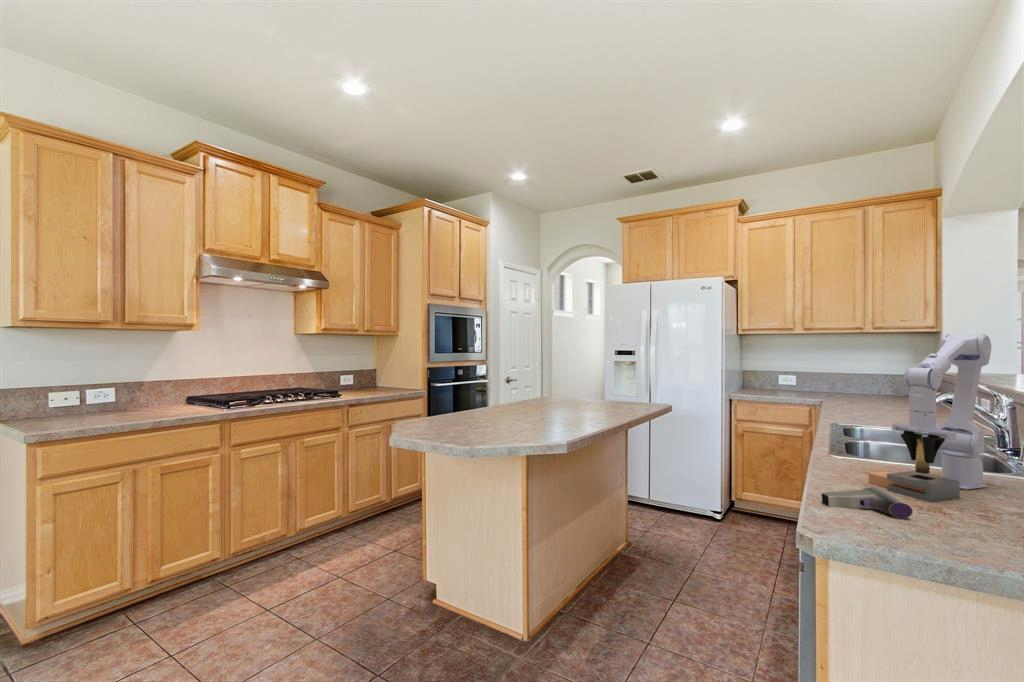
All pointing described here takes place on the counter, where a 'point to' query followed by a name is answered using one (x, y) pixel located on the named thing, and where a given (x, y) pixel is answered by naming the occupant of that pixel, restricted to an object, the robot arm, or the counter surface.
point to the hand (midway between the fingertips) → (922, 461)
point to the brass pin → (920, 457)
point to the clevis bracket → (925, 486)
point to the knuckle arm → (888, 481)
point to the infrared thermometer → (869, 501)
